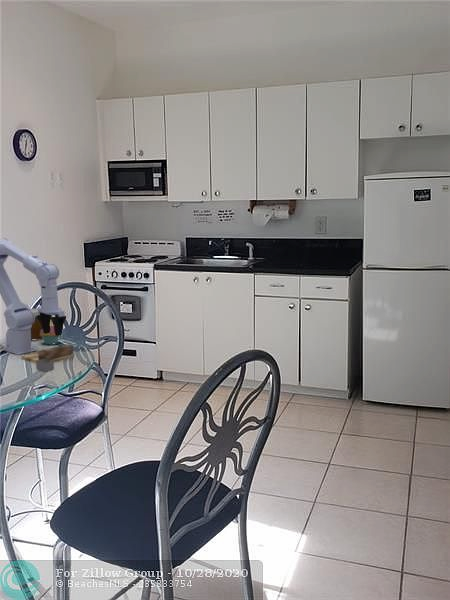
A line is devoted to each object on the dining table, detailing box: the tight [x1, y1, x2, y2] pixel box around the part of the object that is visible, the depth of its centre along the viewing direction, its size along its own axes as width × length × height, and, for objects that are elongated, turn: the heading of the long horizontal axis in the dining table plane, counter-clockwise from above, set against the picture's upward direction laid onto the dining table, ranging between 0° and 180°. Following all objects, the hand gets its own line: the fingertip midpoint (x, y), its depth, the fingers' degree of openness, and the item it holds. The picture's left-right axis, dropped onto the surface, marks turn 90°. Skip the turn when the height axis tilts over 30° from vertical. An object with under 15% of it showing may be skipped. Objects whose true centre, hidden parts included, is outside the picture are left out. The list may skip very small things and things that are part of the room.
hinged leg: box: [37, 343, 74, 360], centre depth 223 cm, size 14×3×4 cm, turn 142°
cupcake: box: [40, 315, 60, 345], centre depth 246 cm, size 9×8×12 cm
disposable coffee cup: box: [29, 307, 43, 341], centre depth 252 cm, size 10×10×12 cm
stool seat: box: [21, 351, 75, 364], centre depth 226 cm, size 12×14×1 cm
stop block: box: [35, 359, 55, 373], centre depth 212 cm, size 5×4×3 cm
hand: (52, 334), depth 226 cm, fingers open, 7 cm apart
